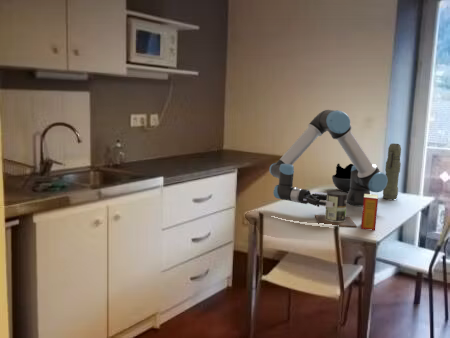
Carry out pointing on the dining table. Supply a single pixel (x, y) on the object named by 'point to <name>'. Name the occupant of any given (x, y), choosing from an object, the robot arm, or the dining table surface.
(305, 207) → the dining table surface
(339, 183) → the coal bowl
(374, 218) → the baking soda box
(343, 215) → the coffee can
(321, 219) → the walnut board
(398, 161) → the olive green rough column
